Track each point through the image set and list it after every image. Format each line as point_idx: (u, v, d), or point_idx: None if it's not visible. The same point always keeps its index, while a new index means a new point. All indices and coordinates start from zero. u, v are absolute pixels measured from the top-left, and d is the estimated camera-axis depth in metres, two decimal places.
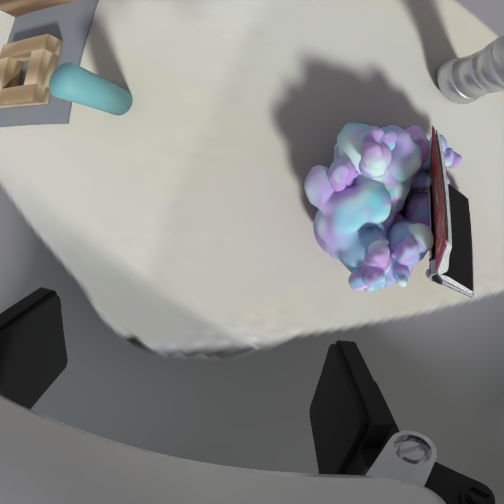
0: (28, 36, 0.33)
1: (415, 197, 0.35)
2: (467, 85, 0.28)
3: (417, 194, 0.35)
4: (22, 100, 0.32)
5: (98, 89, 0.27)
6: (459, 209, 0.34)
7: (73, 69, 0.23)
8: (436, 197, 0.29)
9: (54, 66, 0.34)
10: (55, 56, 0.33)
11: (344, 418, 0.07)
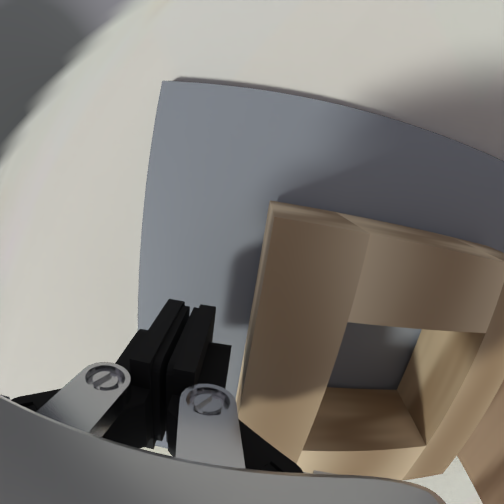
0: None
1: None
2: None
3: None
4: None
5: None
6: None
7: None
8: None
9: None
10: None
11: None
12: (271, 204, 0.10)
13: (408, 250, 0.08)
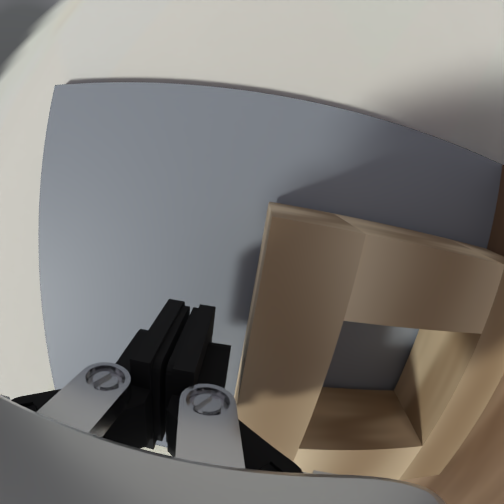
0: None
1: None
2: None
3: None
4: None
5: None
6: None
7: None
8: None
9: None
10: None
11: None
12: (270, 205, 0.10)
13: (403, 250, 0.08)
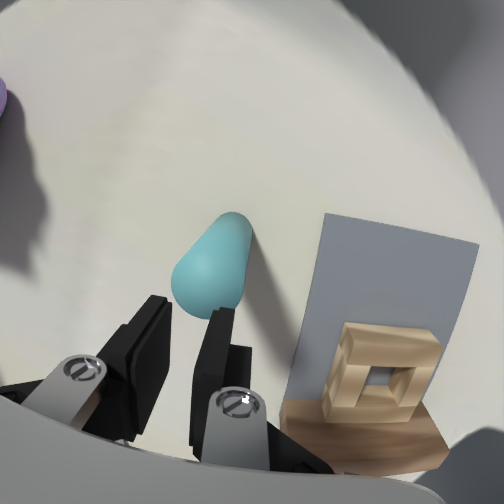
0: None
1: None
2: None
3: None
4: (374, 344, 0.27)
5: None
6: None
7: (183, 299, 0.16)
8: None
9: (331, 372, 0.32)
10: (327, 384, 0.32)
11: None
12: (432, 334, 0.29)
13: (429, 376, 0.28)
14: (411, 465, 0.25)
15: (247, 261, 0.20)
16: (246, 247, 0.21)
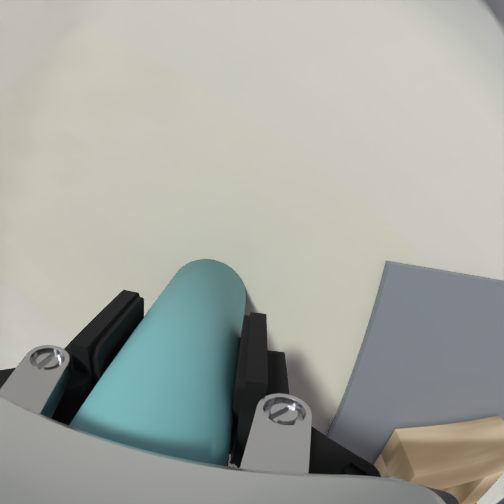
0: None
1: None
2: None
3: None
4: (442, 470, 0.12)
5: None
6: None
7: None
8: None
9: None
10: None
11: None
12: None
13: (495, 480, 0.13)
14: None
15: (228, 457, 0.06)
16: (225, 411, 0.07)
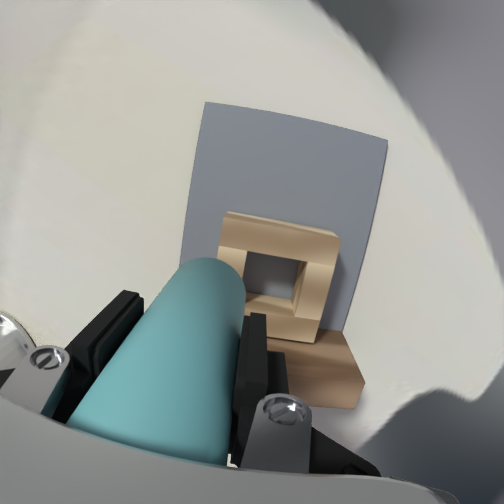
0: None
1: None
2: None
3: None
4: (247, 223, 0.27)
5: None
6: None
7: None
8: None
9: None
10: None
11: None
12: None
13: (329, 278, 0.28)
14: (310, 393, 0.25)
15: (227, 454, 0.06)
16: (224, 408, 0.07)
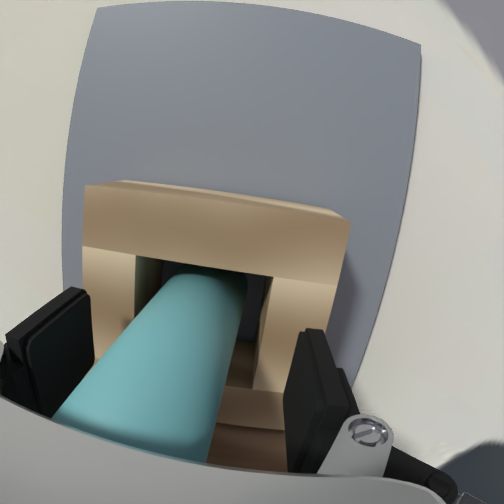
0: None
1: None
2: None
3: None
4: (131, 193, 0.11)
5: None
6: None
7: None
8: None
9: None
10: None
11: (305, 400, 0.07)
12: (334, 212, 0.14)
13: (324, 313, 0.12)
14: None
15: (215, 419, 0.07)
16: (215, 378, 0.08)
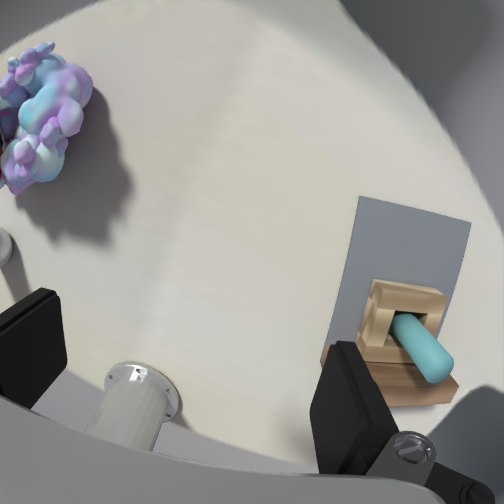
0: None
1: (15, 132, 0.33)
2: None
3: (14, 135, 0.33)
4: (397, 292, 0.36)
5: (412, 347, 0.32)
6: None
7: (429, 376, 0.28)
8: None
9: (363, 320, 0.41)
10: (360, 331, 0.41)
11: (344, 418, 0.07)
12: None
13: (438, 322, 0.37)
14: (429, 396, 0.34)
15: None
16: None
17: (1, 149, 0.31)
